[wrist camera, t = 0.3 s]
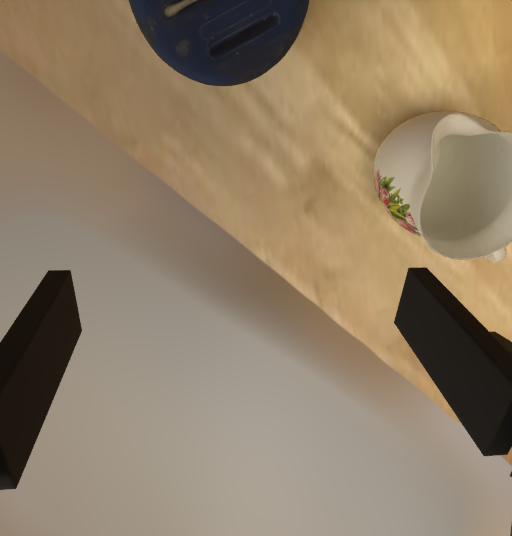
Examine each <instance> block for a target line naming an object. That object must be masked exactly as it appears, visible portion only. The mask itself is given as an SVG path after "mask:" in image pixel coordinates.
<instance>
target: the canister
mask: <svg viewBox="0 0 512 536" xmlns="http://www.w3.org/2000/svg"><path fill="white" fill-rule="evenodd" d="M129 2H130V6H131V9H132V12H133V14H134V17H135V19H136V22H137V24H138V26H139V28H140V30H141V32H142V33H143V35H144V37H145V38H146V40H147V41H148V43H149V44H150V46H151V47H152V48H153V50H154V51H155V52H156V53H157V55H158V56H159V57H160V58H161V59H162V60H163V61H164V62H166V63H167V64H168V65H169V66H170V67H172V68H173V69H174V70H176V71H177V72H179V73H180V74H182V75H184V76H186V77H188V78H190V79H192V80H195V81H197V82H200V83H203V84H207V85H214V86H232V85H238V84H242V83H246V82H248V81H251V80H253V79H255V78H257V77H259V76H261V75H262V74H264V73H266V72H267V71H268V70H270V69H271V68H272V67H273V66H274V65H276V64H277V63H278V62H279V61H280V60H281V59H282V58H283V57H284V56H285V55H286V53H287V52H288V50H289V49H290V48H291V46H292V44H293V43H294V41H295V40H296V38H297V36H298V34H299V32H300V30H301V27H302V25H303V22H304V19H305V16H306V13H307V9H308V5H309V0H129Z"/></svg>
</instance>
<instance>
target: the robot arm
mask: <svg viewBox="0 0 512 536" xmlns="http://www.w3.org/2000/svg"><path fill="white" fill-rule="evenodd" d="M394 323H395V325H396V326H397V328H398V329H399V331H400V332H401V334H402V335H403V337H404V338H405V340H406V341H407V343H408V344H409V346H410V347H411V349H412V350H413V352H414V353H415V355H416V356H417V358H418V359H419V361H420V362H421V363H422V365H423V366H424V368H425V369H426V371H427V372H428V374H429V375H430V377H431V378H432V380H433V381H434V383H435V384H436V386H437V387H438V389H439V390H440V392H441V393H442V395H443V396H444V398H445V399H446V401H447V402H448V404H449V405H450V407H451V408H452V410H453V411H454V413H455V414H456V415H457V417H458V418H459V420H460V421H461V423H462V424H463V426H464V427H465V429H466V430H467V432H468V433H469V435H470V436H471V438H472V439H473V441H474V442H475V444H476V445H477V447H478V448H479V449H480V451H481V453H482V454H483V455H484V456H493V455H507V454H508V452H509V450H510V449H511V447H512V342H511V341H509V340H508V339H506V338H504V337H503V336H501V335H500V334H498V333H496V332H489V331H488V330H487V329H486V328H485V327H484V326H483V325H482V324H481V323H480V322H479V321H478V320H477V319H476V318H475V317H474V316H473V315H472V314H471V313H470V312H469V311H468V310H467V309H466V308H465V307H464V306H463V305H462V304H461V303H460V302H459V301H458V299H457V298H456V297H455V296H454V295H453V294H452V293H451V292H450V291H449V290H448V289H447V288H446V287H445V286H444V285H443V284H442V283H441V282H440V281H439V280H438V279H437V278H436V277H435V276H434V275H433V274H432V273H431V272H430V271H429V270H428V269H427V268H408V272H407V276H406V280H405V283H404V287H403V291H402V295H401V298H400V302H399V306H398V310H397V313H396V317H395V321H394ZM81 331H82V329H81V323H80V318H79V313H78V307H77V302H76V297H75V292H74V286H73V281H72V276H71V271H70V270H61V271H60V270H58V271H56V270H55V271H48V272H47V274H46V275H45V277H44V278H43V280H42V281H41V283H40V284H39V286H38V287H37V289H36V290H35V292H34V293H33V295H32V296H31V298H30V299H29V301H28V302H27V304H26V305H25V307H24V308H23V309H22V311H21V313H20V314H19V315H18V317H17V318H16V320H15V321H14V323H13V325H12V326H11V327H10V329H9V330H8V332H7V333H6V335H5V336H4V338H3V339H2V341H1V342H0V490H3V489H16V487H17V485H18V483H19V480H20V478H21V476H22V473H23V471H24V468H25V466H26V464H27V461H28V459H29V456H30V454H31V451H32V449H33V447H34V444H35V442H36V439H37V437H38V435H39V432H40V430H41V427H42V425H43V422H44V420H45V418H46V415H47V413H48V411H49V408H50V406H51V403H52V401H53V399H54V396H55V394H56V391H57V389H58V386H59V384H60V382H61V379H62V377H63V375H64V372H65V370H66V367H67V365H68V362H69V360H70V358H71V355H72V353H73V351H74V348H75V346H76V343H77V341H78V339H79V336H80V334H81ZM510 476H511V477H512V472H511V474H510ZM510 536H512V526H511V535H510Z"/></svg>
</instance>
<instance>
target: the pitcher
mask: <svg viewBox="0 0 512 536" xmlns="http://www.w3.org/2000/svg"><path fill="white" fill-rule="evenodd" d="M374 182H375V187H376V191H377V193H378V196H379V199H380V201H381V202H382V204H383V206H384V208H385V209H386V211H387V212H388V213H389V214H390V216H391V217H392V218H393V219H394V220H395V221H396V222H397V223H398V224H400V225H401V226H402V227H403V228H405V229H406V230H408V231H410V232H412V233H414V234H416V235H418V236H421V237H422V238H423V239H424V241H425V242H426V243H427V245H428V246H429V247H430V248H431V249H432V250H434V251H435V252H437V253H438V254H440V255H442V256H444V257H447V258H451V259H458V260H469V259H476V258H480V257H485V258H486V259H488V260H489V261H491V262H499V261H501V260H503V259H504V258H505V257H506V254H507V252H506V249H505V246H507V245H508V244H509V243H511V242H512V132H503V131H501V130H500V129H499V128H497V127H496V126H495V125H493V124H492V123H490V122H489V121H487V120H485V119H483V118H480V117H478V116H475V115H472V114H468V113H463V112H456V111H437V112H430V113H426V114H422V115H419V116H416V117H413V118H411V119H409V120H407V121H405V122H403V123H401V124H400V125H399V126H397V127H396V128H395V129H393V130H392V131H391V132H390V133H389V134H388V136H387V137H386V138H385V139H384V141H383V142H382V144H381V146H380V147H379V150H378V152H377V155H376V158H375V162H374Z"/></svg>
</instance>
